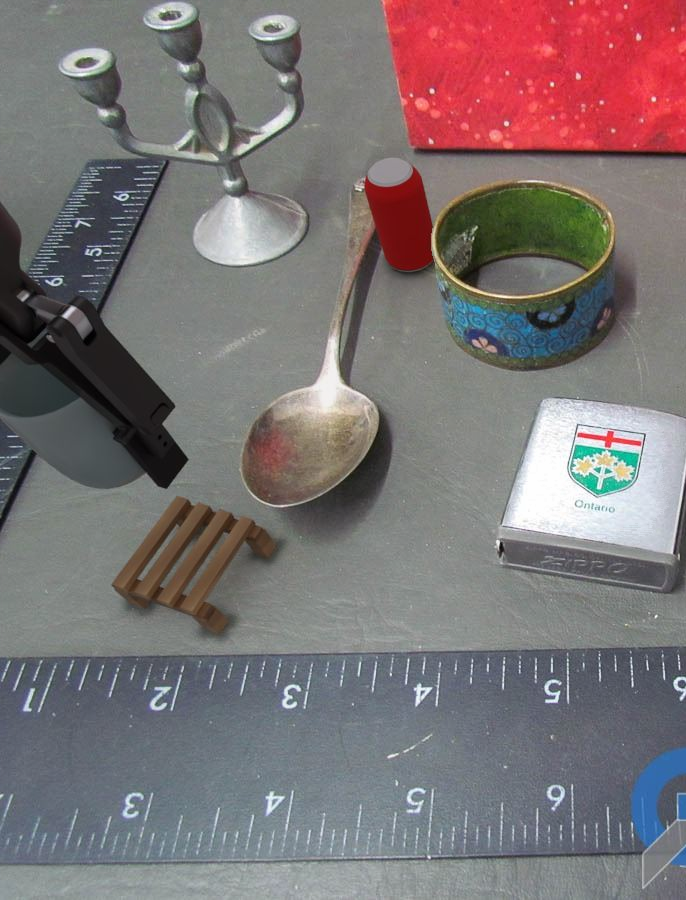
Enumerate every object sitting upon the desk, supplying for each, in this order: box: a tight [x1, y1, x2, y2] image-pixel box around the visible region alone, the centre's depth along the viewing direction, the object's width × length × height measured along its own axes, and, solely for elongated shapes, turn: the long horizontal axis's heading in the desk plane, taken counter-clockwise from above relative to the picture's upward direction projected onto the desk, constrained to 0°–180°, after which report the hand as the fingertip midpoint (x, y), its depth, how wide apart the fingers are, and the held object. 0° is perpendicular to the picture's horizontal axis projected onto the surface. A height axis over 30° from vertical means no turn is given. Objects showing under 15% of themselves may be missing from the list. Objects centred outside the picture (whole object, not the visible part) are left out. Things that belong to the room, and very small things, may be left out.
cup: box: [0, 330, 147, 490], centre depth 56 cm, size 8×8×10 cm
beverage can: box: [363, 157, 434, 273], centre depth 91 cm, size 6×6×12 cm
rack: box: [110, 495, 277, 636], centre depth 71 cm, size 9×9×4 cm
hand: (123, 457), depth 60 cm, fingers closed on cup, 8 cm apart
